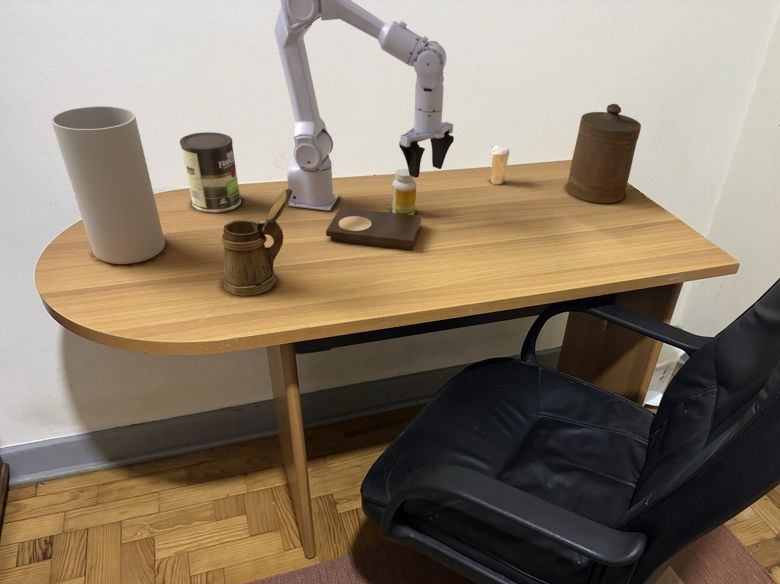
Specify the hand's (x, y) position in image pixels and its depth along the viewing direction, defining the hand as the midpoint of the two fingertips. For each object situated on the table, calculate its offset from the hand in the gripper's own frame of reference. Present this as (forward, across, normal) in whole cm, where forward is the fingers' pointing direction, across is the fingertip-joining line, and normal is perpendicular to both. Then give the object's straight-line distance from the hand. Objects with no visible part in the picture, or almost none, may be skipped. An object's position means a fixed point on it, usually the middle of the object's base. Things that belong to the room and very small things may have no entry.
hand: (425, 171), depth 137 cm
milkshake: (+10, +28, +1) cm, 30 cm away
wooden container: (+10, +44, -20) cm, 49 cm away
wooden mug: (+10, -44, 0) cm, 45 cm away
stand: (+10, -15, 0) cm, 18 cm away
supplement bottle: (+10, -3, +4) cm, 11 cm away
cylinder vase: (+10, -54, +27) cm, 62 cm away
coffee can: (+10, -30, +35) cm, 47 cm away
